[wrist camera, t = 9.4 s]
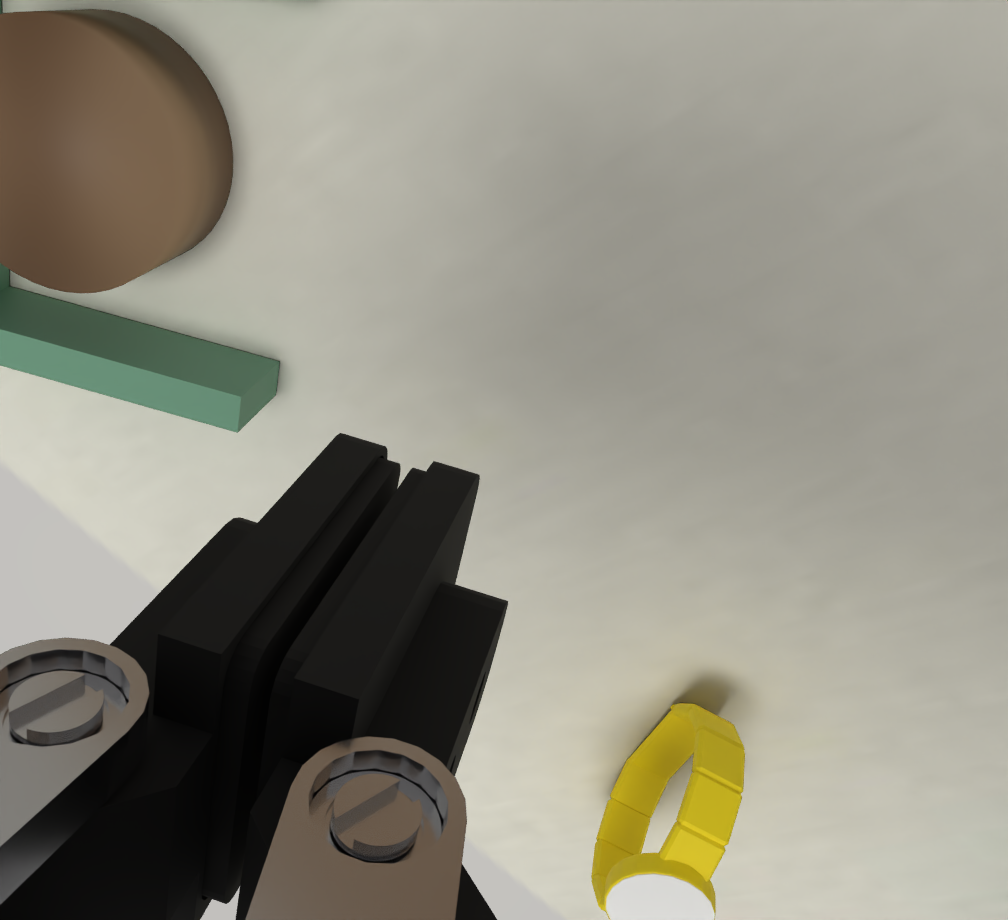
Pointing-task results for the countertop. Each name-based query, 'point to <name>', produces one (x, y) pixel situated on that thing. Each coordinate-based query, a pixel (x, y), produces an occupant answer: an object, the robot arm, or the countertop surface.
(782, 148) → the countertop surface
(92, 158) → the puck
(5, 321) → the green u-shaped frame
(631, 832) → the watch
